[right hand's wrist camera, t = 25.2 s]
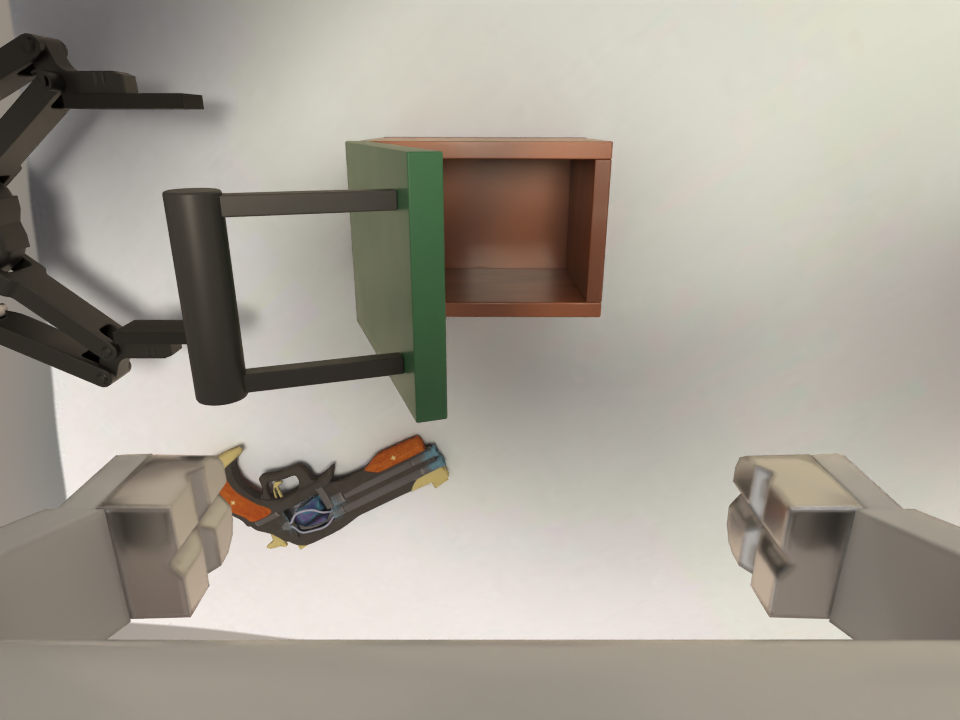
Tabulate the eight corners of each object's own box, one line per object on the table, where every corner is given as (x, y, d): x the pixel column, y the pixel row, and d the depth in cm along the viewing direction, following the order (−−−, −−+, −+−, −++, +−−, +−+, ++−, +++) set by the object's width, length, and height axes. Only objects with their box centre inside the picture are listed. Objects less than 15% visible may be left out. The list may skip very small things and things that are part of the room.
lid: (443, 151, 21) (146, 154, 18) (447, 419, 24) (197, 455, 21) (368, 141, 33) (185, 141, 30) (378, 319, 36) (214, 334, 34)
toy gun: (174, 481, 49) (242, 585, 51) (391, 373, 47) (452, 484, 49) (189, 468, 52) (253, 567, 54) (395, 364, 50) (453, 471, 52)
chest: (583, 137, 43) (613, 141, 33) (575, 277, 46) (600, 317, 37) (386, 137, 43) (358, 140, 33) (392, 277, 46) (369, 317, 37)
